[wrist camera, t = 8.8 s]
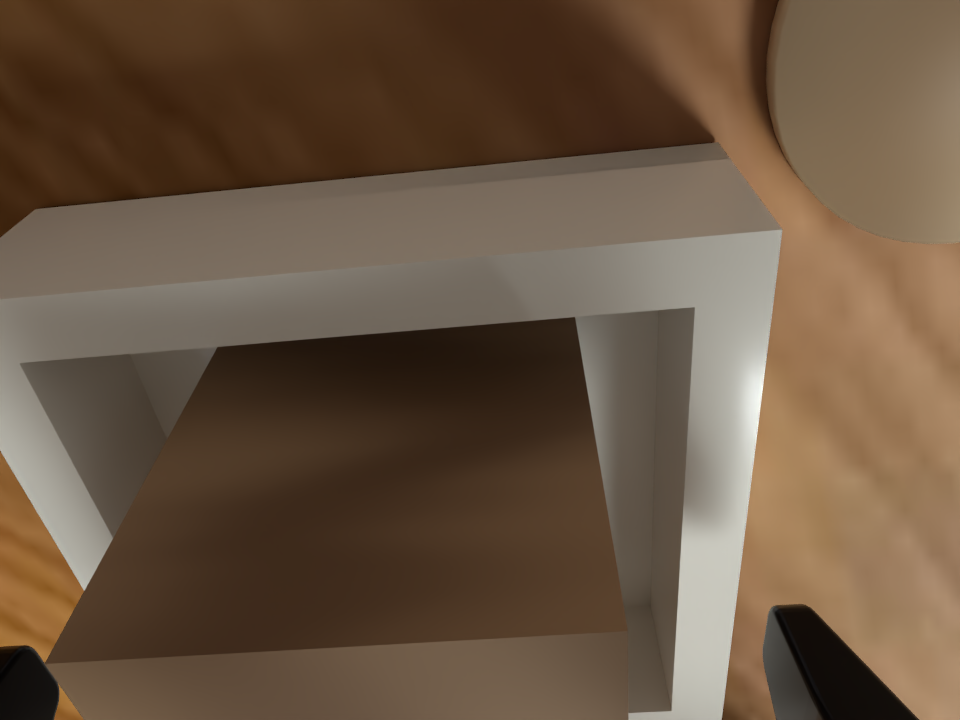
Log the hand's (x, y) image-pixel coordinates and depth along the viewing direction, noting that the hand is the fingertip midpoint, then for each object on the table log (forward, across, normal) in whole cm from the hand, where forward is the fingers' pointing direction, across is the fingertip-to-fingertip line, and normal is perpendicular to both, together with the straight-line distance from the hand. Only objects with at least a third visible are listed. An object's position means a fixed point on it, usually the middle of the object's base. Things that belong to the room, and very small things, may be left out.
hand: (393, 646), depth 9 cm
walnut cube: (+3, 0, 0) cm, 3 cm away
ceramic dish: (+4, 0, 0) cm, 4 cm away
